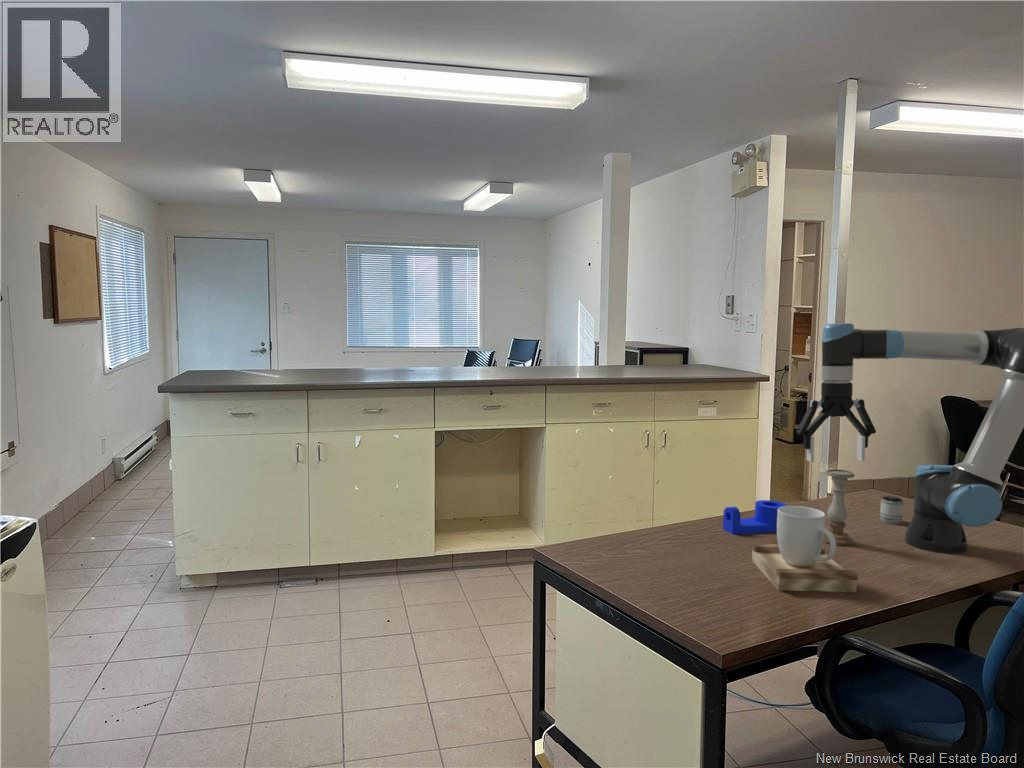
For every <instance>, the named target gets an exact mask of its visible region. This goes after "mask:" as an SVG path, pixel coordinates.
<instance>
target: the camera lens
mask: <svg viewBox="0 0 1024 768" xmlns="http://www.w3.org/2000/svg"><path fill="white" fill-rule="evenodd" d="M903 516H904V500H903V499H901V498H900V497H897V496H893V495H891V496H889V495H886V496H883V497H882V498H880V511H879V518H880V521H881V522H882V523H884V524H888V525H901V524H902V521H903Z"/></svg>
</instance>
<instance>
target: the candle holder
mask: <svg viewBox="0 0 1024 768" xmlns="http://www.w3.org/2000/svg"><path fill="white" fill-rule="evenodd" d="M824 473H825V475H826V476H829V477H830V479H831V481H832V482H833V486H832V488H831V490H832V491H833V492H832V494H833V495H832V502H831V503H830V504H829V507H828V509H827V517H828V519H829V520H828V521H827V524H828V527H829V529H828V530H829V531H830V532H831V533H832V534H833V536H834V538H835V541H836V546H850V545H852V544H853V543H854V539H853V538H852V537H851V536H850V535H849V533H847V532H845V531H844V529H845V527H847V524H846V522H845V521H846V520H847V519H848V516H849V514H848V513H849V512H848V509H847V507H846V505H845V492H847V489H846V486H845V485H846V483H847V482H848V479H852V478H855V473H854V472H853V471H850V470H846V469H837V468H836V469H831V468H829V469H827V470H825V471H824ZM823 543H826V544H829V545H830V542H829V539H828V537H827V535H826V534H825V533H824V541H823Z"/></svg>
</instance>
